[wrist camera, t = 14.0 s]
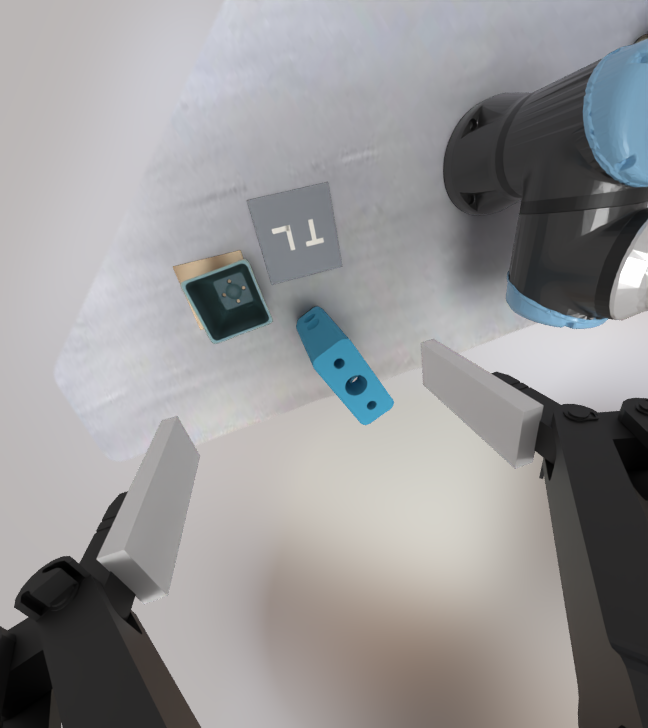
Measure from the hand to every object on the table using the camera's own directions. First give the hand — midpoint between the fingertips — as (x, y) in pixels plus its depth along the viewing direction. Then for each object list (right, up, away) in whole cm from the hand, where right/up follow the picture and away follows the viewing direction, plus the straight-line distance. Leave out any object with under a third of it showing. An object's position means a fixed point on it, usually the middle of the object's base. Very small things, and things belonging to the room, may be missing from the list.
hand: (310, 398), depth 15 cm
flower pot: (-14, +13, +29) cm, 35 cm away
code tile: (-3, +21, +28) cm, 36 cm away
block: (0, +8, +36) cm, 37 cm away
